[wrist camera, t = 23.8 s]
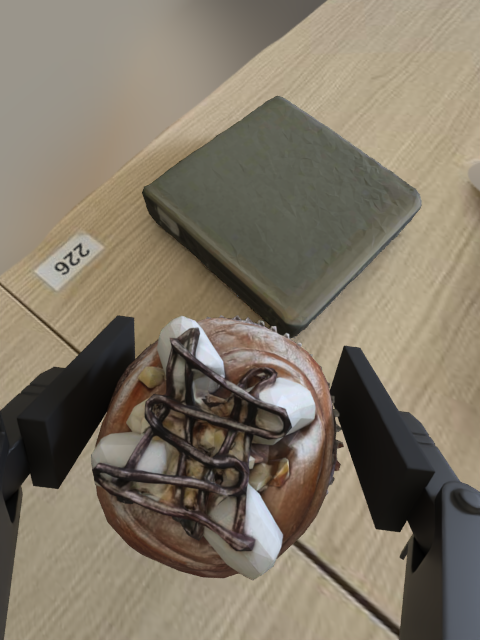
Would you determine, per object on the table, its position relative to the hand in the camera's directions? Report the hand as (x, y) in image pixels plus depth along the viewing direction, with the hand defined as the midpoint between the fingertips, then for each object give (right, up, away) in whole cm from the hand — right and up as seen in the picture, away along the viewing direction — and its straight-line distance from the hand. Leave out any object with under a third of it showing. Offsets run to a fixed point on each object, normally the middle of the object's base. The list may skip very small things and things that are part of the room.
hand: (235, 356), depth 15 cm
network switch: (+5, +13, +21) cm, 25 cm away
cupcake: (-1, -4, +3) cm, 5 cm away
